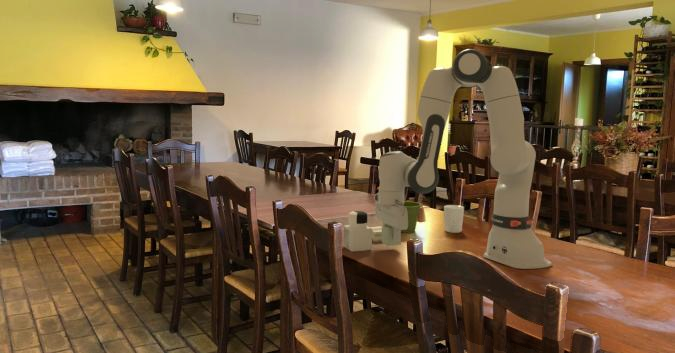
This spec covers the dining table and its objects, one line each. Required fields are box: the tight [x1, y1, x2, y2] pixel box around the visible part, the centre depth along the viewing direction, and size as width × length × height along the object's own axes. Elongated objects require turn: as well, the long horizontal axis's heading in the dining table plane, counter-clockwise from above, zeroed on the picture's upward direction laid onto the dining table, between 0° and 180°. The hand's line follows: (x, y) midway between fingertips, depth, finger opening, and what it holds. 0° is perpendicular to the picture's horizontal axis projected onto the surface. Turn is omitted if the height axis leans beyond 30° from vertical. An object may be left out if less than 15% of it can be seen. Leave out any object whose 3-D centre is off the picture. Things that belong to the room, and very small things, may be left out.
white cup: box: [443, 204, 465, 234], centre depth 216 cm, size 8×8×10 cm
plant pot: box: [401, 200, 422, 234], centre depth 214 cm, size 12×12×11 cm
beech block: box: [369, 225, 383, 243], centre depth 202 cm, size 8×8×4 cm
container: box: [343, 210, 373, 252], centre depth 187 cm, size 8×8×13 cm
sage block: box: [381, 225, 402, 247], centre depth 186 cm, size 5×5×6 cm
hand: (391, 237), depth 186 cm, fingers closed on sage block, 5 cm apart
